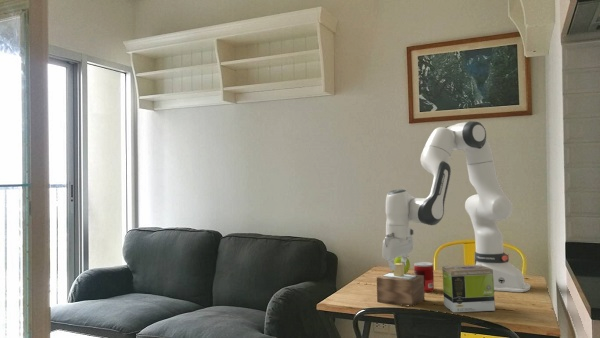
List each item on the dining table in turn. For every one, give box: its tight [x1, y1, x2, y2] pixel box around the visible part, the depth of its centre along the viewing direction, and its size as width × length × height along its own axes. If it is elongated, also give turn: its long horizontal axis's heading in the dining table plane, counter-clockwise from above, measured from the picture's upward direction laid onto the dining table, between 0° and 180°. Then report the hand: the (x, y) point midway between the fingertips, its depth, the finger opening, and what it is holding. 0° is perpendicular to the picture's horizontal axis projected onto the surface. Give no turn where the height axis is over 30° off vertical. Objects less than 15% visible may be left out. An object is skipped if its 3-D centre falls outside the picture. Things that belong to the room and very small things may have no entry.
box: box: [376, 271, 425, 307], centre depth 187 cm, size 14×12×9 cm
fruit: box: [391, 256, 411, 274], centre depth 236 cm, size 9×9×10 cm
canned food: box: [413, 261, 435, 293], centre depth 203 cm, size 8×8×11 cm
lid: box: [382, 263, 416, 280], centre depth 187 cm, size 12×9×7 cm
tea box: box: [442, 264, 496, 313], centre depth 174 cm, size 15×10×15 cm
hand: (398, 268), depth 187 cm, fingers open, 8 cm apart
